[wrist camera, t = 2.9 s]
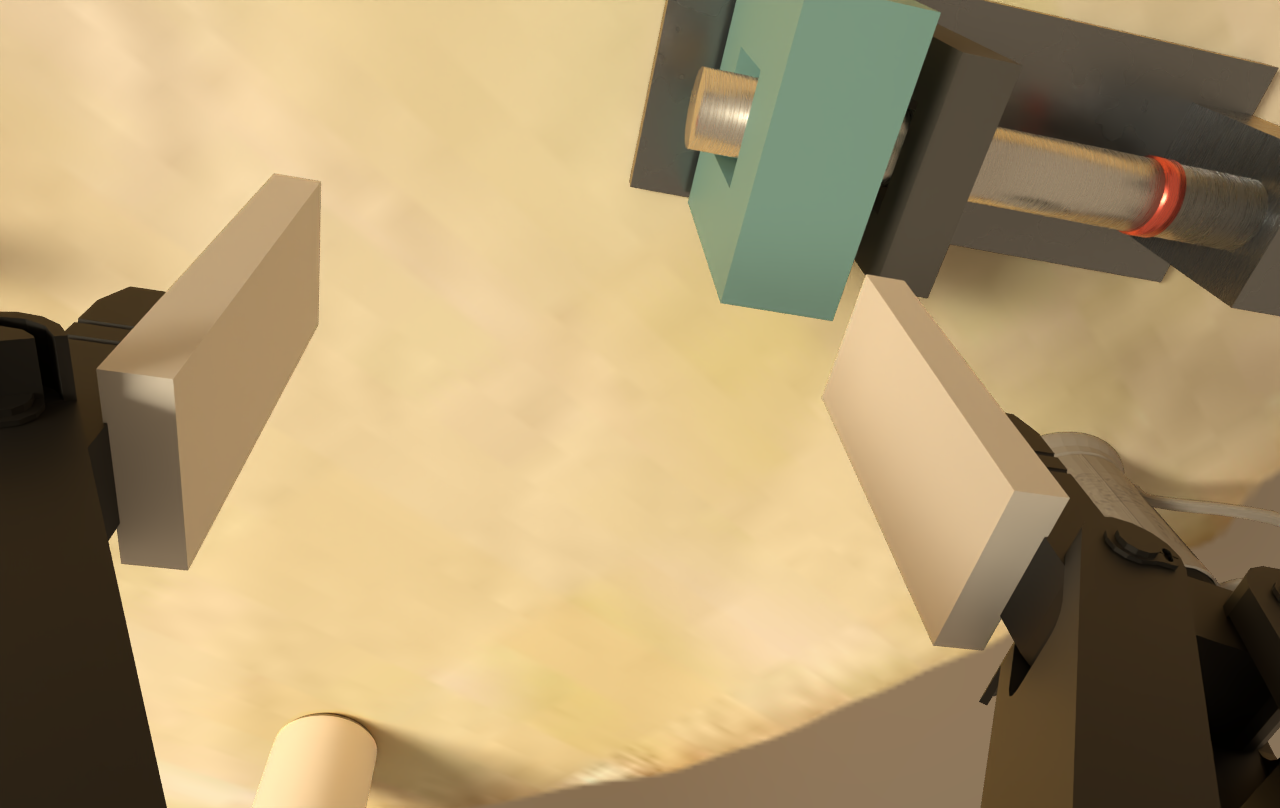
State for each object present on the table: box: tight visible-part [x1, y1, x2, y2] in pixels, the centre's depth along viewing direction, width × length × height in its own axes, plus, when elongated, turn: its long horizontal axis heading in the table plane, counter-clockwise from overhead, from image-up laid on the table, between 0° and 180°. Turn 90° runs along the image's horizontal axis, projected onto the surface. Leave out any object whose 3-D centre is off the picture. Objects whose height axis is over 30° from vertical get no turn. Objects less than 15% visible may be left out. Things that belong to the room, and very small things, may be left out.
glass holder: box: [1041, 432, 1280, 591], centre depth 44 cm, size 9×14×15 cm, turn 115°
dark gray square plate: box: [855, 24, 1022, 298], centre depth 33 cm, size 2×8×8 cm, turn 169°
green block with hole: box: [688, 0, 941, 321], centre depth 32 cm, size 4×10×10 cm, turn 169°
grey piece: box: [629, 0, 1280, 316], centre depth 35 cm, size 26×10×9 cm, turn 79°
